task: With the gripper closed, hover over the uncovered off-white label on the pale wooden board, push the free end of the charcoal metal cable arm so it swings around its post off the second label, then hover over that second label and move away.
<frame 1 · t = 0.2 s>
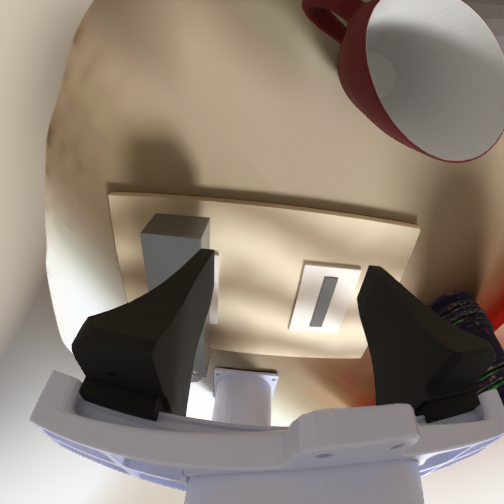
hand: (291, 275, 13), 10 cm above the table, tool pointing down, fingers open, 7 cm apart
storage jar: (443, 320, 28), on the table
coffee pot: (442, 1, 11), on the table
cable arm: (184, 309, 23), point 3 cm above the table, hinge at 0.0°
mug: (357, 64, 15), on the table
label board: (257, 290, 26), on the table
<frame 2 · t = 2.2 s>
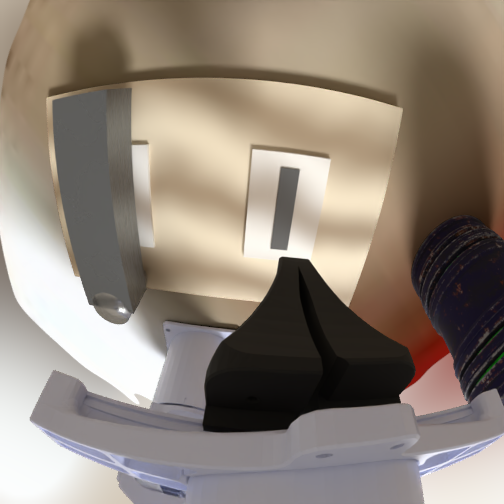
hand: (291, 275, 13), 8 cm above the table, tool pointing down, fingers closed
storage jar: (452, 260, 22), on the table
cable arm: (105, 214, 17), point 3 cm above the table, hinge at 0.0°
label board: (200, 197, 20), on the table
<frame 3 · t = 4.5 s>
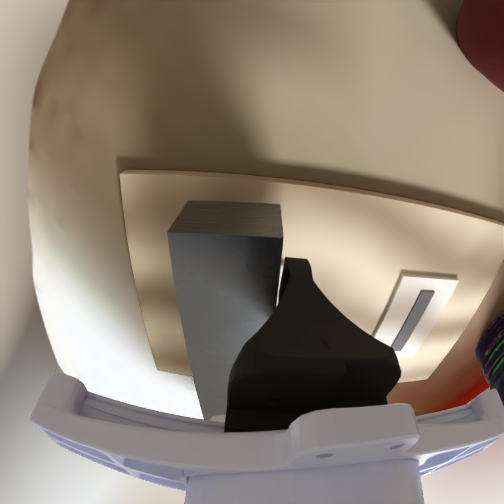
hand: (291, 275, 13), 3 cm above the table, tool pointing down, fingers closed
cable arm: (232, 345, 16), point 3 cm above the table, hinge at 2.8°, touching gripper
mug: (463, 28, 8), on the table
label board: (332, 310, 18), on the table
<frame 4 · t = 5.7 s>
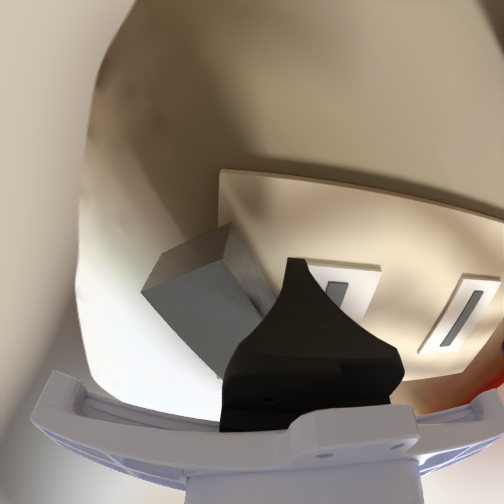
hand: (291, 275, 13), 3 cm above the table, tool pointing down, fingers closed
cable arm: (269, 356, 16), point 3 cm above the table, hinge at 31.4°, touching gripper
label board: (400, 311, 18), on the table
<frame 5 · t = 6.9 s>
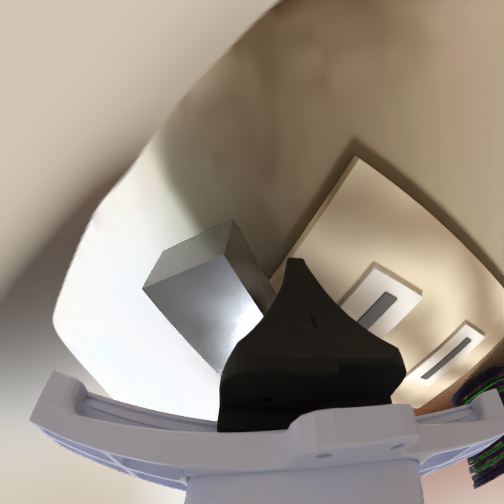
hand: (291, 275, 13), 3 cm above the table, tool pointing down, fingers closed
storage jar: (477, 384, 26), on the table
cable arm: (269, 355, 16), point 3 cm above the table, hinge at 54.1°, touching gripper
label board: (408, 336, 20), on the table
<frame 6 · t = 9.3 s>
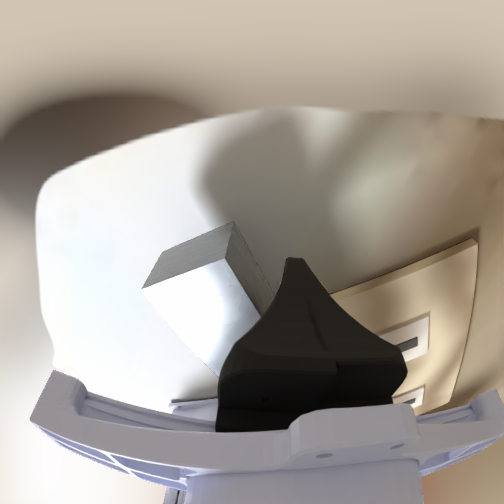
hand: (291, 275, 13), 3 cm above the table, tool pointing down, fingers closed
cable arm: (266, 356, 16), point 3 cm above the table, hinge at 90.0°, touching gripper
label board: (385, 377, 23), on the table
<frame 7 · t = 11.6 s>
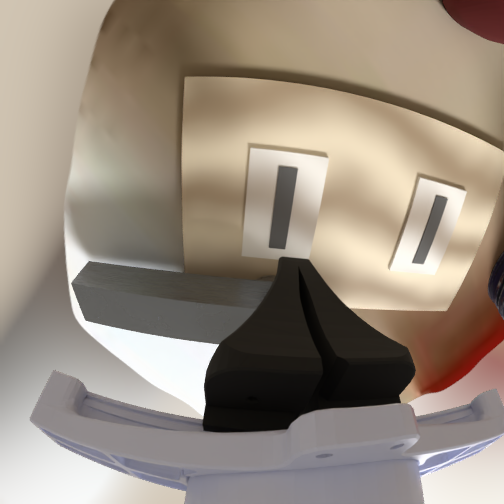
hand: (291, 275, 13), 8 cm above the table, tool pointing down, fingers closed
cable arm: (181, 300, 21), point 3 cm above the table, hinge at 90.7°
label board: (360, 214, 20), on the table
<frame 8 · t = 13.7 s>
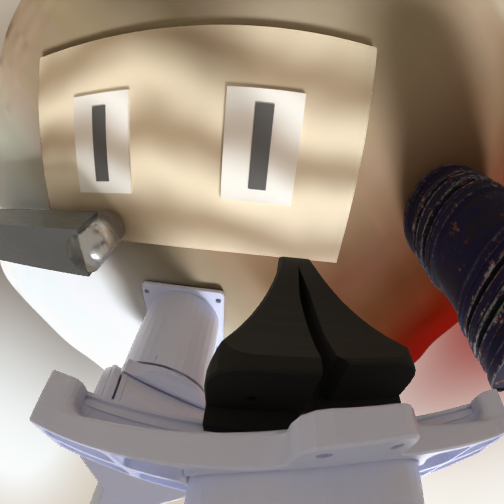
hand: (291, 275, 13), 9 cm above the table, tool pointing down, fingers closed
storage jar: (447, 214, 20), on the table
cable arm: (39, 234, 20), point 3 cm above the table, hinge at 90.7°
label board: (177, 139, 19), on the table
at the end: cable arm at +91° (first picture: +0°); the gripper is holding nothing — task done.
